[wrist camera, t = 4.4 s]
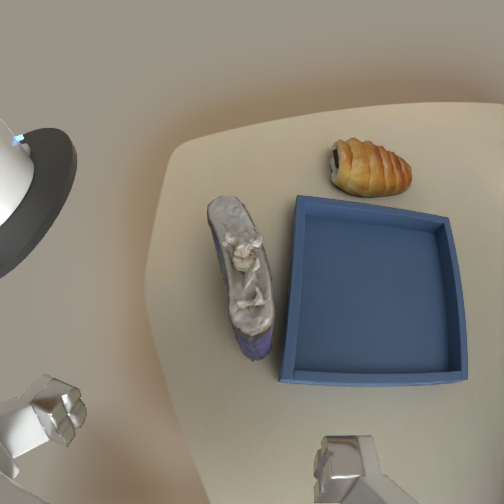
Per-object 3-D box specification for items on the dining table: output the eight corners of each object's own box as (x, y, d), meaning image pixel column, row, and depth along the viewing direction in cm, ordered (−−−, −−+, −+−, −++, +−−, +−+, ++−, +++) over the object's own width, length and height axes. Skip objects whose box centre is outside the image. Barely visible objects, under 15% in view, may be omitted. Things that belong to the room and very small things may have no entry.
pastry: (400, 161, 32) (411, 138, 29) (413, 206, 29) (427, 184, 26) (326, 151, 33) (331, 126, 29) (331, 198, 30) (339, 172, 26)
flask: (218, 260, 27) (198, 178, 17) (251, 253, 27) (248, 167, 17) (243, 365, 22) (233, 336, 13) (280, 356, 23) (298, 320, 13)
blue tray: (278, 382, 22) (281, 379, 19) (294, 211, 29) (297, 194, 27) (451, 383, 21) (468, 379, 18) (437, 231, 28) (448, 217, 25)
